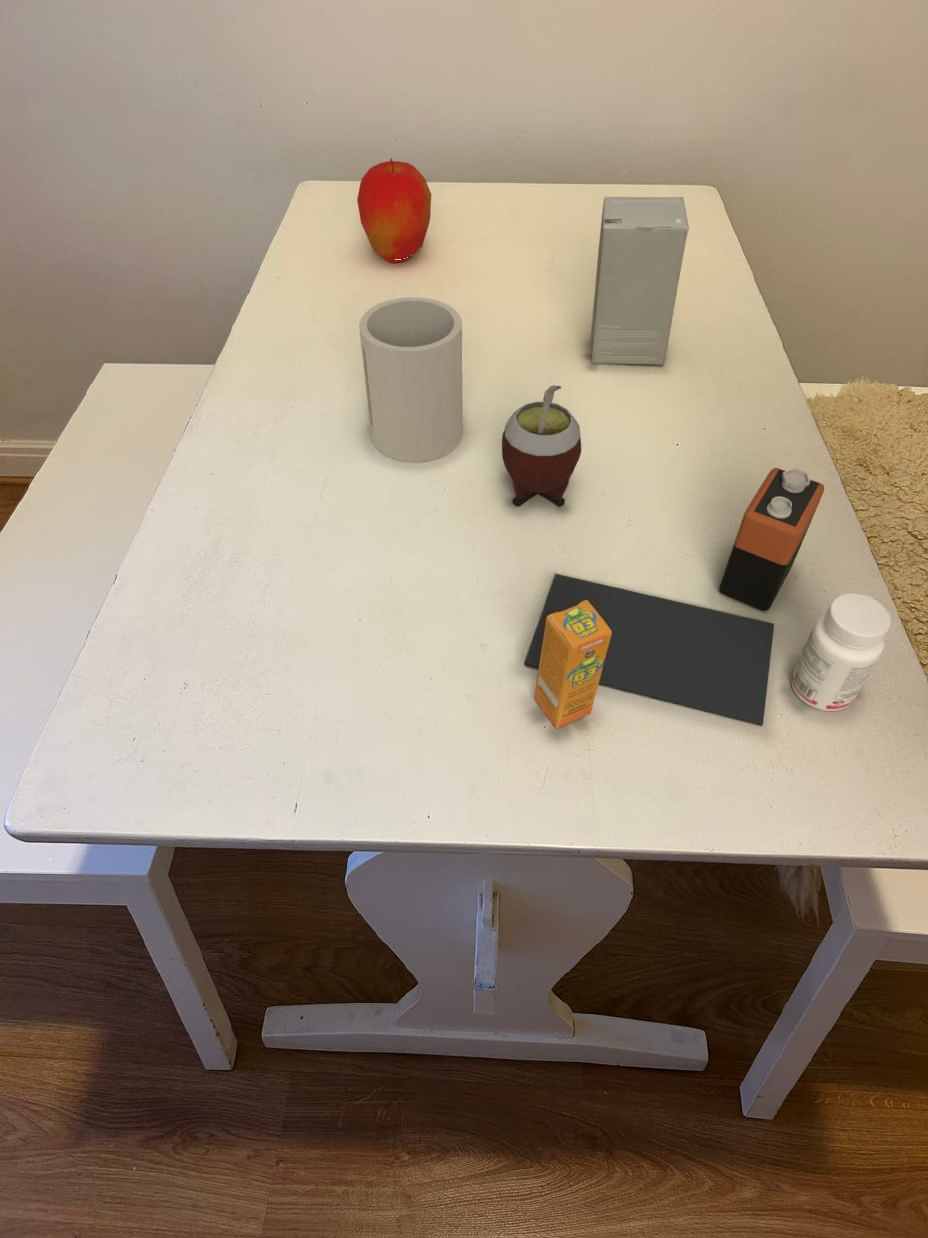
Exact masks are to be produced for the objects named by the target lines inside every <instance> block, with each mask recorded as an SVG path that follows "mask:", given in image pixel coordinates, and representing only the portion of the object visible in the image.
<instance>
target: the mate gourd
mask: <svg viewBox="0 0 928 1238" xmlns="http://www.w3.org/2000/svg"><path fill="white" fill-rule="evenodd" d="M561 389H562V385H557V384H556V385H550V386H548V388H547V389H546V390H545V391H544V393H543V398H542V401H533V402H528V403H525V404H523V405H522V406H521V407H519V408H517V409H516V410H515V411H514V412H513V413H511V415H510V417H509V418H508V420H507V422H506V423H505V425H504V429H503V432H502V436H501V454H502V455H501V457H502V461H503V464H504V467H505V469H506V471H507V473H508V475H509V476H510V478H511V480H512V485H513V491H514V494H515V496H514V497H513V499H511V500H512V504H513V505H514V506H515V507H517V508H518V507H521V506H523V505H524V504H525V503H526V502H528V501H529V500H531V499H533V498H534V497H535V496H537V495H538V496H540V497H543V498H544V499H545V500H547V501H548V502H550V503H552V505H555V506H557V507H558V508H559V507H560V508H561V507H562V506H564V505H565V502H566V498H564V497H563V496H564V494H565V492H566V490H567V488H568V485H569V484H570V479H571V477H572V475H573V474H574V472H575V469H576V467H577V465H578V462H579V460H580V458H581V453H582V439H581V437H582V436H581V429H580V424H579V423H578V421H577V418H575V417H574V416H573V414H572V413H571V412H570V411H569V409H568V408H566V407H564V406H562V405H560V404H559V403H554V402H553V399H554V397H555V392H556V391H559V390H561Z"/></svg>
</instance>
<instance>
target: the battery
mask: <svg viewBox="0 0 928 1238" xmlns="http://www.w3.org/2000/svg"><path fill="white" fill-rule="evenodd" d="M824 493H825V485H824V484H823V483H821V482H819V481H817V480H813V479H811V478H810V477H809V473H808V472H807V471H805V470H802V469H798V468H797V467H792V468H790V469H787V470H785V469H782V468H779V467H773V468H771V470H769V472H768V474H767V475H766V477H765V479H764V480H763V481H762V483H761V485H760V486H759V487H758V490H757V491H756V493H755V495H754V497H752V499H751V501H750V503H749V504H748V506H747V508H746V509H745V511H744V513H743V516H742V519H741V521H740V524H739V527H738V531H737V533H736V537H735V539H734V543H733V545H732V548H731V551H730V554H729V557H728V560H727V562H726V566H725V569H724V571H723V575H722V577H721V578H722V579H721V581H720V584H719V587H718V592H719V594H721V595H723V596H725V597H727V598H731V599H732V600H735V601H738V602H740V603H742V604H745V605H747V606H748V607H749V606H750V607H751V608H755V609H757V610H758V611H762V612H767V611H768V610H770V608H771V607H772V605H773V603H774V601H775V600H776V598H777V596H778V594H779V592H780V590H781V588H782V587H783V585H784V582H785V581H786V579H787V577H788V575H789V573H790V571H791V570H792V567H793V565H794V563H795V561H796V558H797V556H798V554H799V551H800V549H801V547H802V544H803V542H804V539H805V537H806V535H807V533H808V530H809V528H810V525H811V523H812V521H813V518H814V516H815V514H816V511H817V509H818V507H819V504H820V501H821V499H822V497H823V494H824Z"/></svg>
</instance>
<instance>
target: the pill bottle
mask: <svg viewBox="0 0 928 1238" xmlns="http://www.w3.org/2000/svg"><path fill="white" fill-rule="evenodd" d="M891 617H892V616H891V614H890V612H889V611H888V609H887V608H886V606H884V605H883V604H882V603H881V602H879V600H877V599H875V598H873V597H871V596H869V595H866V594H862V593H857V592H856V593H855V592H849V593H843V594H840V595H838V596H837V597H835V598H834V599H833V600H832V602H831V604H830V605H829V607H828V608H827V610H826V613H824V614H823V615H822V616H820V617H819V618H818V619H817V621H816V622H815V624H814V626H813V628H812V630H811V632H810V634H809V635H808V638H807V641H806V642H805V644H804V647H803V649H802V651H801V654H800V655H799V657H798V659H797V661H796V663H795V665H794V667H793V669H792V672H791V676H790V677H791V678H790V683H791V687H792V690H793V692H794V693H795V695H796V696H797V697H798V698H799V699H800V700H801V701H802V702H803V703H805V704H806V705H808V706H809V707H812V708H815V709H817V710H820V711H824V712H838V711H841V710H844V709H846V708H848V707H849V706H851V705H852V704H853V703H854V701H855V700H856V698H857V696H858V695H859V693H860V692H861V690H862V689H863V686H864V685H865V684H866V682H867V680H868V678H869V677H870V675H871V673H872V672H873V670H874V668H875V666H876V665H877V663H878V661H879V659H880V657H881V655H882V654H883V652H884V649H885V645H886V644H885V638H886V636H887V634H888V632H889V630H890V628H891V626H892V618H891Z"/></svg>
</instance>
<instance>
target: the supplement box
mask: <svg viewBox="0 0 928 1238" xmlns="http://www.w3.org/2000/svg"><path fill="white" fill-rule="evenodd" d="M611 634H612V631H611V630H610V628H609V627H608V625H607V624H606V623H605V621H604V620H603V619H602V618H601V616H600V615H599V614H598V613H597V611H596V610H595V609H594V608H593V606H592V605H591V604H590V603H589V602H588V600H585V601H582V602H580V603H579V605H577V606H574V607H572V608H569V609H567V610H564V611H561V612H555V613H553V614H550V615H548V616H547V618H546V625H545V632H544V638H543V645H542V651H541V657H540V663H539V669H537V670H538V671H537V676H536V684H535V689H534V695H533V697H534V700H535V701H536V703H537V704H538V705H539V707H540V708H541V710H542V711H543V713H544V714H545V715H546V717H547V718H548V720H549V721H550V723H552V725H553V726H554V728H555V729H560V728H562V727H564V726H566V725H568V724H570V723H573V722H575V721H577V720H579V719H581V718H583V717H585V716H587V715H589V714H591V713H592V710H593V706H594V703H595V697H596V694H597V691H598V687H599V685H598V684H599V680H600V677H601V672H602V668H603V665H604V661H605V657H606V653H607V649H608V646H609V642H610V638H611Z"/></svg>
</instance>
